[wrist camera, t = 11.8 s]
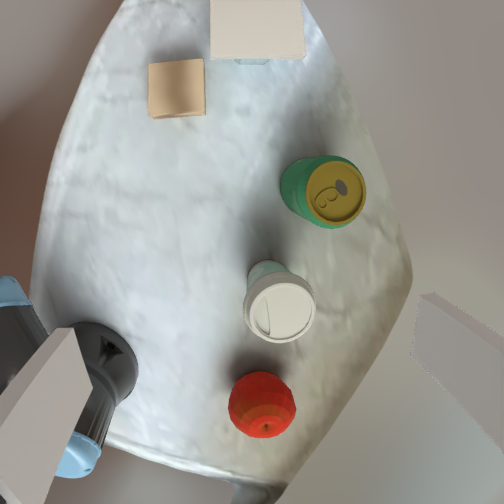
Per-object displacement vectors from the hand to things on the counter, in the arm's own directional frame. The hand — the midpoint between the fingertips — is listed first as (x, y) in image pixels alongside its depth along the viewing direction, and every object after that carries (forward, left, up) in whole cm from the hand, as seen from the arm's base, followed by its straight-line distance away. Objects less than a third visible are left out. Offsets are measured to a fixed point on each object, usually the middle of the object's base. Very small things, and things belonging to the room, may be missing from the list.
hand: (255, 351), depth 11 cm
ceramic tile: (+4, +26, -28) cm, 38 cm away
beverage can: (+11, +4, -35) cm, 37 cm away
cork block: (-6, +18, -34) cm, 39 cm away
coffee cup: (+5, -9, -35) cm, 36 cm away
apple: (+3, -28, -35) cm, 45 cm away
